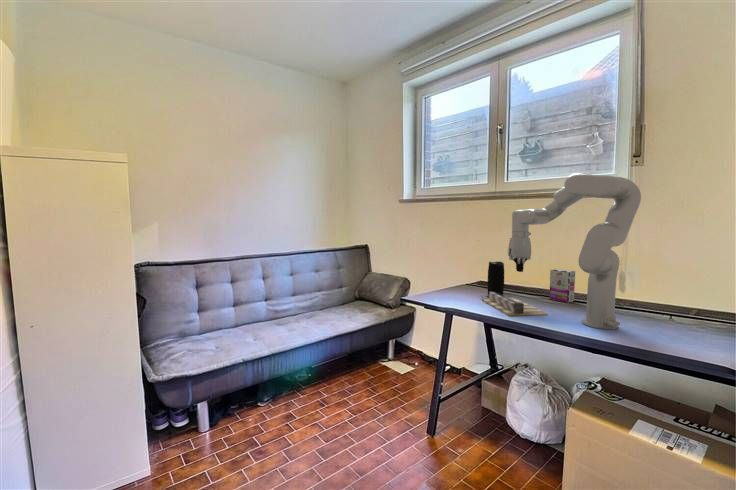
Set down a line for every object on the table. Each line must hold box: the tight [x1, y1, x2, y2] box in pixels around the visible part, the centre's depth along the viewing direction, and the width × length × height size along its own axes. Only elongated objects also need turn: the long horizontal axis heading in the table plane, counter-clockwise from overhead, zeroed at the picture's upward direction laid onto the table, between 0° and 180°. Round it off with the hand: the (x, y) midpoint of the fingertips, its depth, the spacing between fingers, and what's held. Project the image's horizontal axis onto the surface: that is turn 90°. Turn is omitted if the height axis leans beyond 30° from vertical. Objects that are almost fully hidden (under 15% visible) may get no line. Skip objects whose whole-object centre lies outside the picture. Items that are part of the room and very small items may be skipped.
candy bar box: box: [549, 268, 576, 304], centre depth 182 cm, size 11×5×16 cm, turn 25°
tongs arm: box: [493, 292, 518, 303], centre depth 169 cm, size 25×2×4 cm, turn 6°
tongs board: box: [481, 292, 548, 317], centre depth 169 cm, size 30×18×5 cm, turn 5°
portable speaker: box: [487, 261, 505, 297], centre depth 190 cm, size 9×9×20 cm
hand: (519, 271), depth 171 cm, fingers closed
